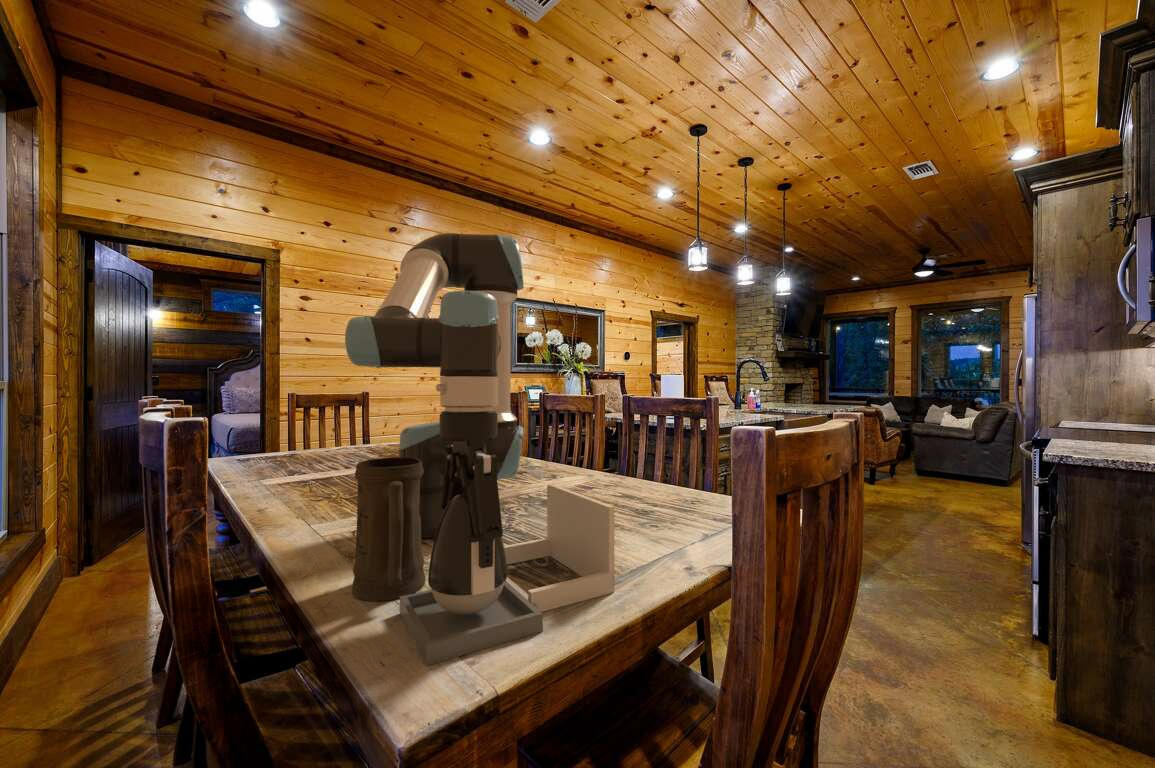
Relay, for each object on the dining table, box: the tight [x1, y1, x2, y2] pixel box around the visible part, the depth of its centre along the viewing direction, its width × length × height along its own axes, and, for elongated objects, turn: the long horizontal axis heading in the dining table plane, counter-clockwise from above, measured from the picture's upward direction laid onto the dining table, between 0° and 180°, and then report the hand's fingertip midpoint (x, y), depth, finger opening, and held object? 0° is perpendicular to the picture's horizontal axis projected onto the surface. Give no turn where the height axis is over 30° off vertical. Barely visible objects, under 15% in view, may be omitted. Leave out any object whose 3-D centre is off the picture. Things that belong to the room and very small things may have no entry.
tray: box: [399, 581, 544, 667], centre depth 64 cm, size 15×15×2 cm
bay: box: [504, 483, 615, 613], centre depth 78 cm, size 20×14×13 cm
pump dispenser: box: [427, 491, 508, 614], centre depth 64 cm, size 10×10×15 cm
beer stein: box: [351, 456, 427, 602], centre depth 73 cm, size 15×11×20 cm
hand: (468, 576), depth 64 cm, fingers closed on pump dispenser, 10 cm apart
